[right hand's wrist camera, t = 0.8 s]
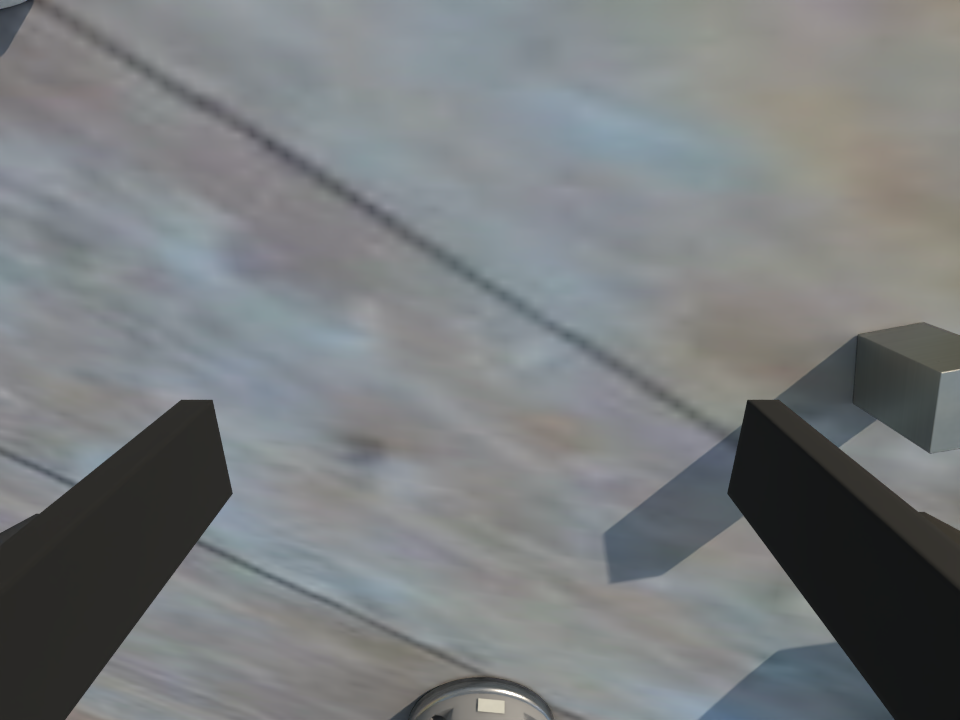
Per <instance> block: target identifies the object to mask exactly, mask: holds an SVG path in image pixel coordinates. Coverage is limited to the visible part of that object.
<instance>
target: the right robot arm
mask: <svg viewBox="0 0 960 720" xmlns="http://www.w3.org/2000/svg"><path fill="white" fill-rule="evenodd" d="M232 494H233V493H232V488H231V484H230V479H229V474H228V470H227V465H226V460H225V456H224V451H223V446H222V442H221V437H220V432H219V428H218V423H217V418H216V414H215V409H214V404H213V400H181V401H179V402H178V403H177V404H176V405H174V406H173V407H172V408H171V409H169V410H168V411H167V412H166V413H164V414H163V415H162V416H161V417H159V418H158V419H157V420H156V421H154V422H153V423H152V424H151V425H149V426H148V427H147V428H146V429H145V430H143V431H142V432H141V433H140V434H138V435H137V436H136V437H135V438H133V439H132V440H131V441H130V442H128V443H127V444H126V445H125V446H123V447H122V448H121V449H120V450H118V451H117V452H116V453H115V454H113V455H112V456H111V457H110V458H108V459H107V460H106V461H105V462H103V463H102V464H101V465H100V466H99V467H97V468H96V469H95V470H94V471H92V472H91V473H90V474H89V475H87V476H86V477H85V478H84V479H82V480H81V481H80V482H79V483H77V484H76V485H75V486H74V487H72V488H71V489H70V490H69V491H67V492H66V493H65V494H64V495H62V496H61V497H60V498H59V499H57V500H56V501H55V502H54V503H53V504H51V505H50V506H49V507H48V508H46V509H45V510H44V511H43V512H41V513H40V514H35V515H33V516H31V517H29V518H28V519H26V520H24V521H22V522H20V523H18V524H16V525H15V526H13V527H11V528H9V529H7V530H5V531H3V532H1V533H0V720H65V719H66V718H67V716H68V715H69V714H70V712H71V711H72V710H73V708H74V707H75V706H76V704H77V703H78V702H79V700H80V699H81V698H82V696H83V695H84V694H85V692H86V691H87V689H88V688H89V687H90V685H91V684H92V683H93V681H94V680H95V679H96V677H97V676H98V675H99V673H100V672H101V671H102V669H103V668H104V667H105V665H106V664H107V662H108V661H109V660H110V658H111V657H112V656H113V654H114V653H115V652H116V650H117V649H118V648H119V646H120V645H121V644H122V642H123V641H124V640H125V638H126V637H127V635H128V634H129V633H130V631H131V630H132V629H133V627H134V626H135V625H136V623H137V622H138V621H139V619H140V618H141V617H142V615H143V614H144V613H145V611H146V610H147V608H148V607H149V606H150V604H151V603H152V602H153V600H154V599H155V598H156V596H157V595H158V594H159V592H160V591H161V590H162V588H163V587H164V586H165V584H166V583H167V581H168V580H169V579H170V577H171V576H172V575H173V573H174V572H175V571H176V569H177V568H178V567H179V565H180V564H181V563H182V561H183V560H184V559H185V557H186V556H187V554H188V553H189V552H190V550H191V549H192V548H193V546H194V545H195V544H196V542H197V541H198V540H199V538H200V537H201V536H202V534H203V533H204V532H205V530H206V529H207V527H208V526H209V525H210V523H211V522H212V521H213V519H214V518H215V517H216V515H217V514H218V513H219V511H220V510H221V509H222V507H223V506H224V505H225V503H226V502H227V500H228V499H229V498H230V496H231V495H232ZM727 494H728V495H729V496H730V498H731V499H732V500H733V502H734V503H735V505H736V506H737V507H738V509H739V510H740V511H741V513H742V514H743V515H744V517H745V518H746V519H747V521H748V522H749V523H750V525H751V526H752V527H753V529H754V530H755V532H756V533H757V534H758V536H759V537H760V538H761V540H762V541H763V542H764V544H765V545H766V546H767V548H768V549H769V550H770V552H771V553H772V554H773V556H774V557H775V559H776V560H777V561H778V563H779V564H780V565H781V567H782V568H783V569H784V571H785V572H786V573H787V575H788V576H789V577H790V579H791V580H792V581H793V583H794V584H795V586H796V587H797V588H798V590H799V591H800V592H801V594H802V595H803V596H804V598H805V599H806V600H807V602H808V603H809V604H810V606H811V607H812V608H813V610H814V611H815V613H816V614H817V615H818V617H819V618H820V619H821V621H822V622H823V623H824V625H825V626H826V627H827V629H828V630H829V631H830V633H831V634H832V635H833V637H834V638H835V640H836V641H837V642H838V644H839V645H840V646H841V648H842V649H843V650H844V652H845V653H846V654H847V656H848V657H849V658H850V660H851V661H852V662H853V664H854V665H855V667H856V668H857V669H858V671H859V672H860V673H861V675H862V676H863V677H864V679H865V680H866V681H867V683H868V684H869V685H870V687H871V688H872V689H873V691H874V692H875V694H876V695H877V696H878V698H879V699H880V700H881V702H882V703H883V704H884V706H885V707H886V708H887V710H888V711H889V712H890V714H891V715H892V716H893V718H894V719H895V720H960V531H959V530H957V529H955V528H953V527H952V526H950V525H948V524H946V523H944V522H942V521H940V520H938V519H936V518H935V517H933V516H931V515H929V514H927V513H925V512H917V511H916V510H915V509H914V508H912V507H911V506H910V505H909V504H907V503H906V502H905V501H904V500H903V499H901V498H900V497H899V496H898V495H896V494H895V493H894V492H893V491H891V490H890V489H889V488H888V487H886V486H885V485H884V484H883V483H881V482H880V481H879V480H878V479H876V478H875V477H874V476H873V475H871V474H870V473H869V472H868V471H866V470H865V469H864V468H863V467H861V466H860V465H859V464H858V463H857V462H855V461H854V460H853V459H852V458H850V457H849V456H848V455H847V454H845V453H844V452H843V451H842V450H840V449H839V448H838V447H837V446H835V445H834V444H833V443H832V442H830V441H829V440H828V439H827V438H825V437H824V436H823V435H822V434H820V433H819V432H818V431H817V430H815V429H814V428H813V427H812V426H811V425H809V424H808V423H807V422H806V421H804V420H803V419H802V418H801V417H799V416H798V415H797V414H796V413H794V412H793V411H792V410H791V409H789V408H788V407H787V406H786V405H784V404H783V403H782V402H781V401H779V400H747V404H746V409H745V414H744V418H743V423H742V428H741V432H740V437H739V442H738V446H737V451H736V456H735V460H734V465H733V470H732V474H731V479H730V484H729V488H728V493H727ZM409 720H554V718H553V714H552V712H551V710H550V708H549V707H548V705H547V704H546V703H545V701H544V700H543V699H542V698H541V697H540V696H538V695H537V694H536V693H534V692H533V691H531V690H530V689H528V688H526V687H524V686H522V685H519V684H517V683H514V682H511V681H507V680H503V679H497V678H486V677H477V678H466V679H460V680H456V681H452V682H449V683H446V684H443V685H441V686H439V687H437V688H435V689H433V690H431V691H430V692H428V693H427V694H426V695H424V696H423V697H422V698H421V699H420V700H419V701H418V702H417V703H416V705H415V706H414V708H413V709H412V711H411V714H410V716H409Z"/></svg>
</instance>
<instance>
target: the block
mask: <svg viewBox="0 0 960 720" xmlns="http://www.w3.org/2000/svg"><path fill="white" fill-rule="evenodd" d="M853 404H855V405H856V406H858V407H859V408H861V409H862V410H864V411H865V412H867V413H868V414H870V415H872V416H873V417H875V418H876V419H878V420H879V421H881V422H882V423H884V424H885V425H887V426H888V427H890V428H891V429H893V430H894V431H896V432H898V433H899V434H901V435H902V436H904V437H905V438H907V439H908V440H910V441H911V442H913V443H914V444H916V445H917V446H919V447H921V448H922V449H924V450H925V451H927V452H928V453H930V454H931V453H937V452H943V451H949V450H955V449H960V335H958V334H955V333H952V332H949V331H947V330H944V329H941V328H938V327H936V326H933V325H930V324H927V323H925V322H923V323H918V324H912V325H907V326H901V327H896V328H890V329H885V330H879V331H874V332H869V333H863V334H858V342H857V356H856V369H855V383H854V397H853Z"/></svg>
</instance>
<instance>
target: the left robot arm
mask: <svg viewBox="0 0 960 720" xmlns="http://www.w3.org/2000/svg"><path fill="white" fill-rule="evenodd" d="M25 1H27V0H0V9H3V8H7V7H11V6H15V5H17V4H20V3H23V2H25Z"/></svg>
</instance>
